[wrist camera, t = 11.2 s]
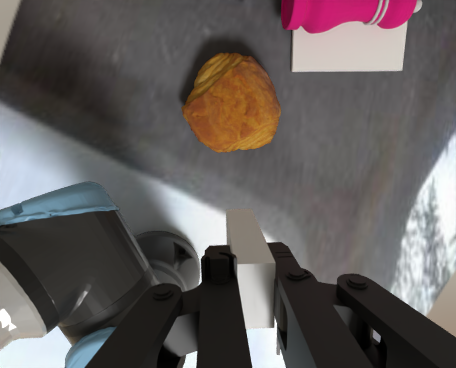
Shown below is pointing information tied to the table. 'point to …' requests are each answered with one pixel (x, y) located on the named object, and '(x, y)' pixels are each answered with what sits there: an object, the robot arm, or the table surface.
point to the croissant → (232, 104)
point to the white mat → (349, 48)
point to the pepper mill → (345, 13)
